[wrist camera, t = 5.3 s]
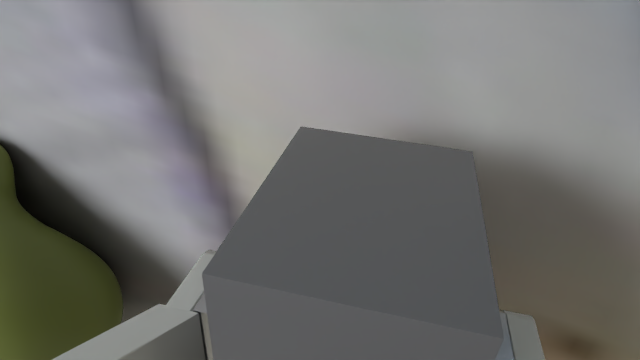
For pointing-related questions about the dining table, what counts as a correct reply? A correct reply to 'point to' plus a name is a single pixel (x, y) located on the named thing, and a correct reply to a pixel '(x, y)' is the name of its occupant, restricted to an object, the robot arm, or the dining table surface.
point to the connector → (357, 258)
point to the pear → (48, 284)
